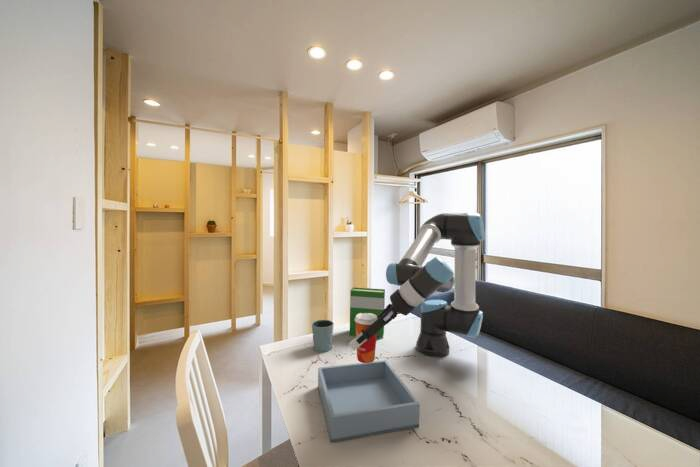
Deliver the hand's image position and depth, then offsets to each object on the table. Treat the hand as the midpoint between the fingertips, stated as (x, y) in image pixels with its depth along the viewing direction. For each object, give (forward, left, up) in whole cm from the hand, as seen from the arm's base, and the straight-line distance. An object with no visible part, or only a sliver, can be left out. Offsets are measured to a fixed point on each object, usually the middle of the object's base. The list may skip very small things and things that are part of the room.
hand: (356, 341), depth 89 cm
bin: (-2, +1, -20) cm, 21 cm away
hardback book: (-21, -54, -21) cm, 61 cm away
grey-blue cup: (+5, -42, -21) cm, 47 cm away
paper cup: (-3, +2, -5) cm, 6 cm away
